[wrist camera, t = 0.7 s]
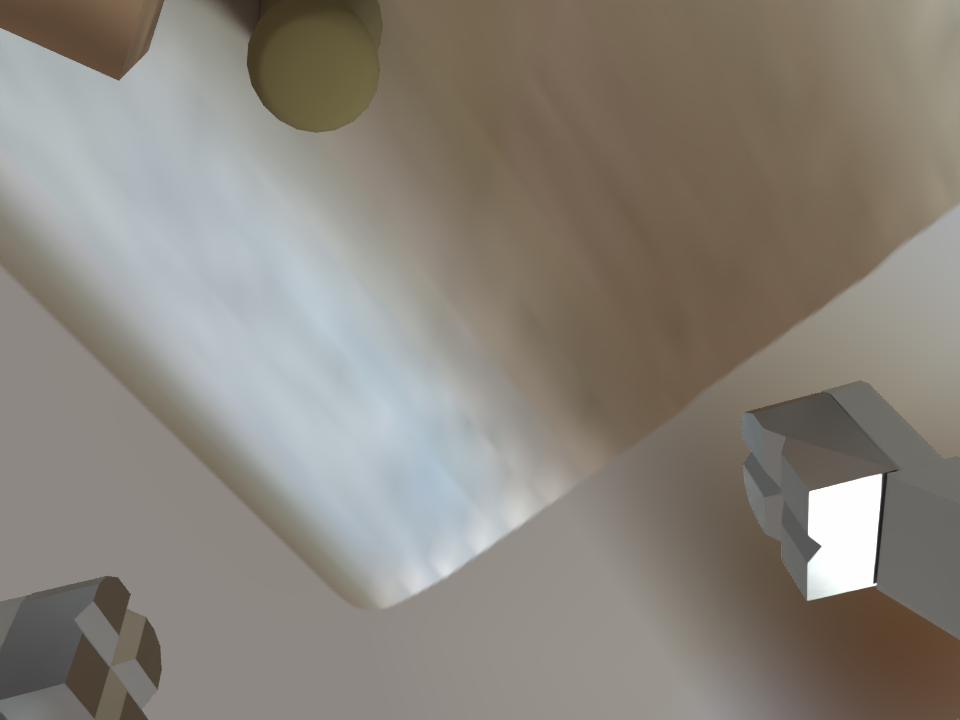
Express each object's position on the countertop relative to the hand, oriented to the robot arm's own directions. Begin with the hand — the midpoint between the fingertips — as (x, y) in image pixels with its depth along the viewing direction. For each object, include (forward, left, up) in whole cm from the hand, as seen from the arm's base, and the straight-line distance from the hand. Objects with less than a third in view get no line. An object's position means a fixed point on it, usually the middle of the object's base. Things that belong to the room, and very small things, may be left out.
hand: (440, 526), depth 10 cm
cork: (+1, -2, -36) cm, 36 cm away
